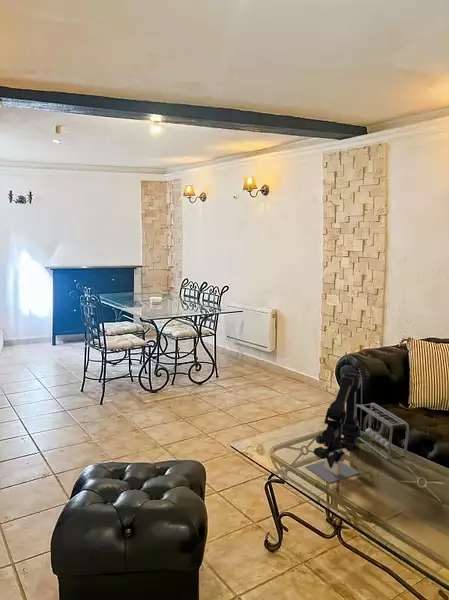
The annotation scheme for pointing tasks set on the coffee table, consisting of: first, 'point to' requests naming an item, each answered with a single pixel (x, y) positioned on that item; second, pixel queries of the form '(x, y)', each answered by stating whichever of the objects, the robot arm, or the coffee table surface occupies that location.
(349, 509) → the coffee table surface
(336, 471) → the tile
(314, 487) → the coffee table surface
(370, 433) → the newton's cradle
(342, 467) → the mat
